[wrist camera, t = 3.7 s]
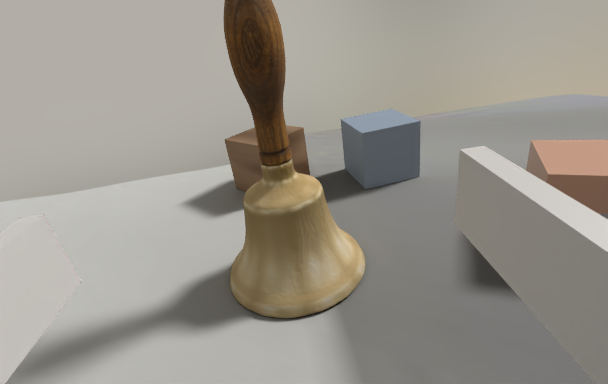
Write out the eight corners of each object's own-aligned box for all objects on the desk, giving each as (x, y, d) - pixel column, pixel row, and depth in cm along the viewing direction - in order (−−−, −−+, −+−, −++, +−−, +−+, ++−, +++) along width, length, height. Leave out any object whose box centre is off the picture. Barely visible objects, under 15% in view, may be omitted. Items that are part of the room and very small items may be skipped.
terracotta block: (519, 210, 23) (531, 140, 21) (612, 215, 22) (635, 139, 19) (532, 254, 19) (548, 174, 17) (648, 266, 18) (682, 177, 15)
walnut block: (274, 169, 36) (265, 123, 34) (310, 178, 33) (303, 127, 31) (236, 189, 33) (224, 139, 31) (273, 201, 30) (262, 146, 27)
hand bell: (209, 267, 22) (116, -16, 15) (310, 216, 26) (274, -28, 19) (274, 348, 16) (168, -68, 9) (395, 266, 20) (387, -69, 13)
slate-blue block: (392, 158, 34) (391, 108, 32) (419, 177, 30) (420, 120, 28) (345, 169, 34) (340, 119, 31) (365, 190, 29) (361, 133, 27)
